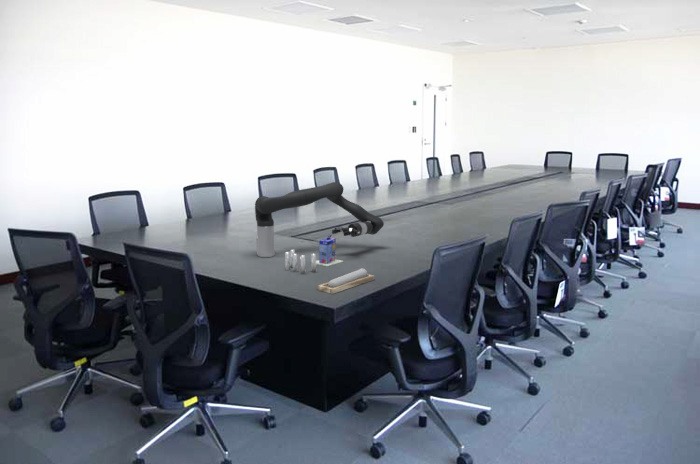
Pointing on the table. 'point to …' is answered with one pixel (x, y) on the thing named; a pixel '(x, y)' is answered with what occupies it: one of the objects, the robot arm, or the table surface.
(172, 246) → the table surface
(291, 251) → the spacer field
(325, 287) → the tube rest
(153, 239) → the table surface
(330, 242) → the ink cartridge box
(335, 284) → the tube
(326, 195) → the robot arm
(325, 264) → the sage mat
